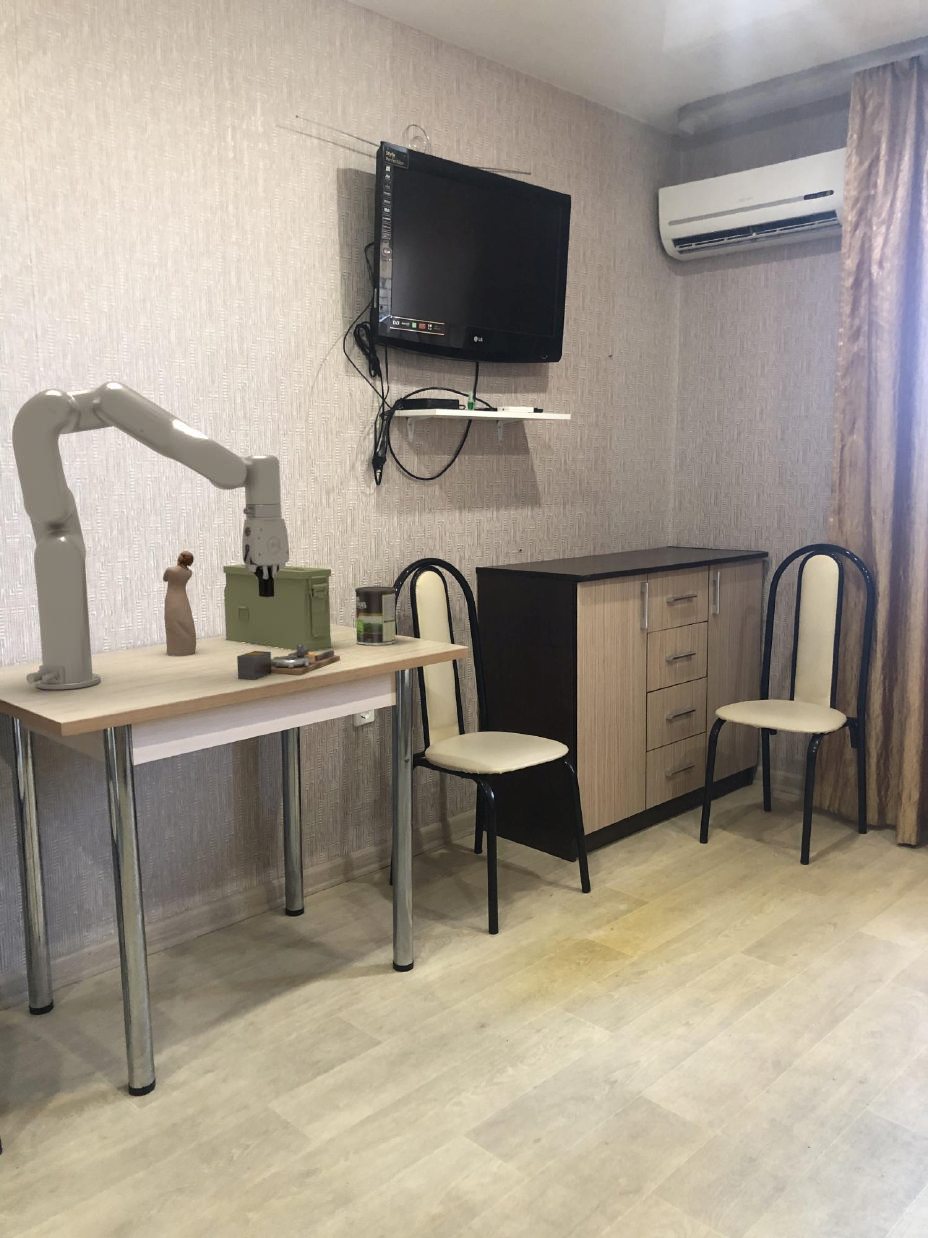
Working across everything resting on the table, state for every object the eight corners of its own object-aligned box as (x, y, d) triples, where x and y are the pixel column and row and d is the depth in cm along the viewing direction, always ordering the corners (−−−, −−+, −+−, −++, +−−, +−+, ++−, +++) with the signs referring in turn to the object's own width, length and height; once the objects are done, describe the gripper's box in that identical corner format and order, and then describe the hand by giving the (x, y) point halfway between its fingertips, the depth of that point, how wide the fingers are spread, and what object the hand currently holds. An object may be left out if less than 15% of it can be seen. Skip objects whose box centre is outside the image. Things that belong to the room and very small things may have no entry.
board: (300, 675, 214) (300, 665, 214) (255, 672, 218) (255, 662, 217) (340, 659, 232) (339, 650, 231) (298, 657, 235) (298, 648, 235)
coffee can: (364, 647, 249) (362, 591, 247) (351, 641, 259) (349, 587, 257) (402, 643, 254) (401, 589, 252) (388, 638, 263) (387, 585, 261)
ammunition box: (308, 653, 242) (305, 571, 239) (223, 640, 262) (220, 565, 259) (337, 647, 249) (335, 568, 246) (252, 635, 270) (249, 562, 267)
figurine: (202, 650, 247) (198, 549, 243) (190, 656, 238) (185, 552, 235) (172, 650, 247) (167, 550, 244) (158, 656, 239) (153, 552, 236)
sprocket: (259, 664, 220) (258, 648, 219) (291, 657, 227) (290, 642, 227) (291, 669, 214) (290, 652, 213) (322, 662, 222) (322, 645, 221)
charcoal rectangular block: (254, 680, 209) (253, 656, 209) (238, 679, 211) (237, 655, 210) (271, 674, 216) (270, 651, 215) (255, 673, 217) (254, 650, 216)
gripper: (249, 514, 207) (252, 601, 209) (300, 511, 219) (303, 594, 221) (225, 513, 211) (228, 599, 214) (276, 511, 223) (279, 592, 226)
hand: (266, 596), depth 218 cm, fingers closed
